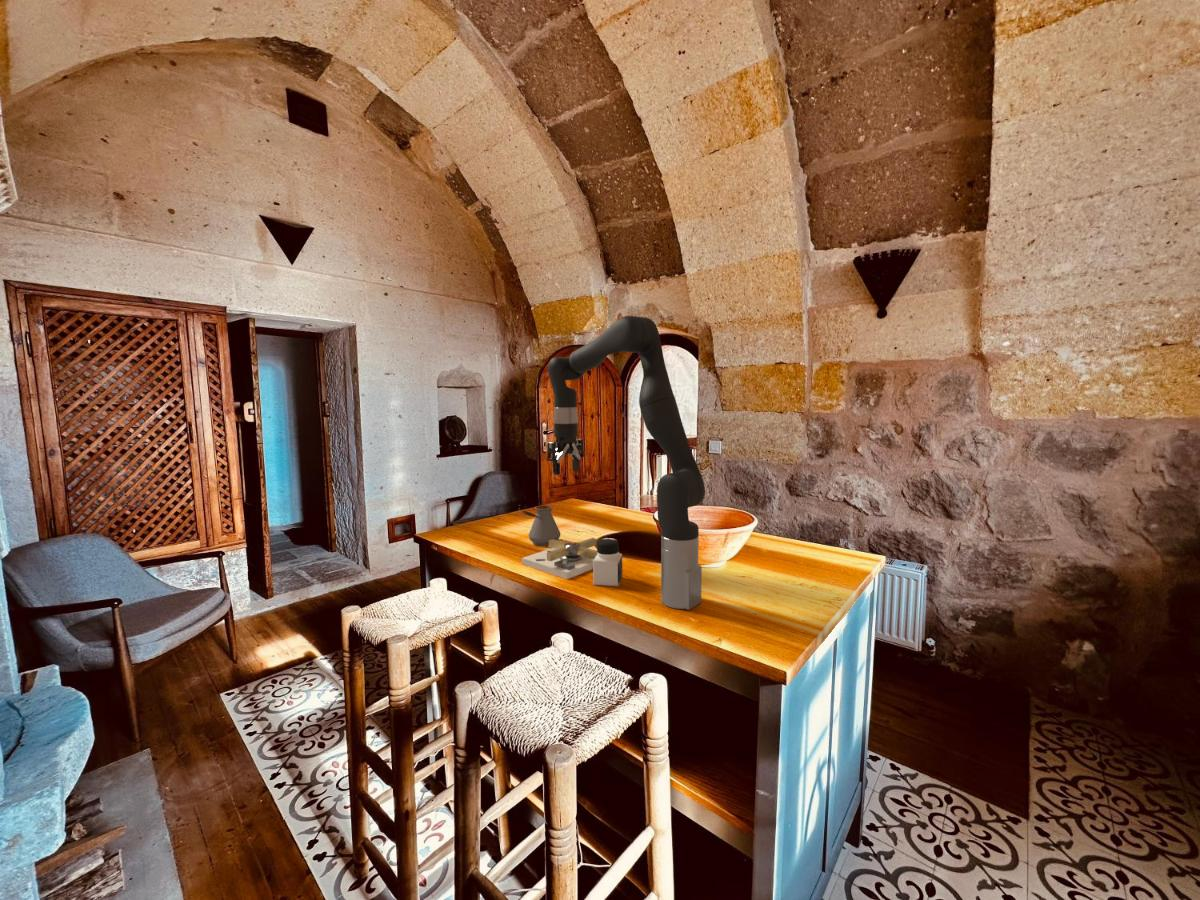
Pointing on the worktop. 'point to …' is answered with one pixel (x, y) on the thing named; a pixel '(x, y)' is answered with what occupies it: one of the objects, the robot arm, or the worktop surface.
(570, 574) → the board
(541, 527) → the coffee pot
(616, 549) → the medicine bottle
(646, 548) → the worktop surface
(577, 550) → the cam capstan
